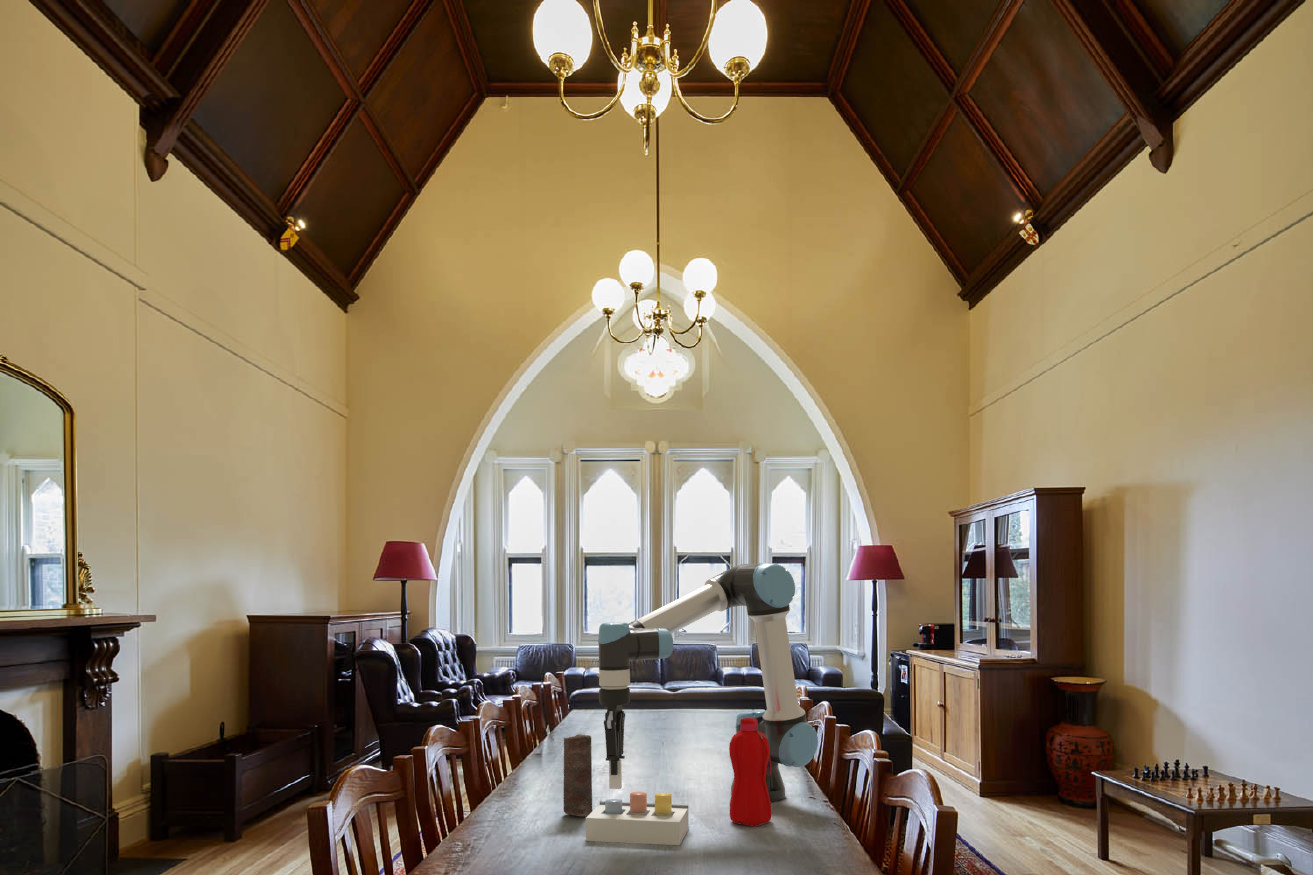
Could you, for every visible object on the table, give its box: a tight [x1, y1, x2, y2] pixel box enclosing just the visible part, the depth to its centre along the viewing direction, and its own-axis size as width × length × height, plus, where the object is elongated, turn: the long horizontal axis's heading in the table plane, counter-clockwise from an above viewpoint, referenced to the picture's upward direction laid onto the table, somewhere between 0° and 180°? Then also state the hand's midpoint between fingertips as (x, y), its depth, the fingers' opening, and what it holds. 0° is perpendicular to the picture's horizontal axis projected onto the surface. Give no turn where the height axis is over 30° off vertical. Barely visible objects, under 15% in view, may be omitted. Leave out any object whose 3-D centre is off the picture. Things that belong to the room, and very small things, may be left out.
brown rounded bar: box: [563, 734, 593, 818], centre depth 236 cm, size 8×7×20 cm
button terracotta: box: [629, 791, 648, 813], centre depth 218 cm, size 4×4×4 cm
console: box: [585, 800, 690, 846], centre depth 217 cm, size 22×14×6 cm, turn 80°
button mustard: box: [654, 792, 673, 814], centre depth 217 cm, size 4×4×4 cm
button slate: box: [605, 798, 623, 815], centre depth 219 cm, size 4×4×4 cm
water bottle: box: [728, 718, 773, 827], centre depth 230 cm, size 9×11×25 cm
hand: (615, 787), depth 220 cm, fingers closed
